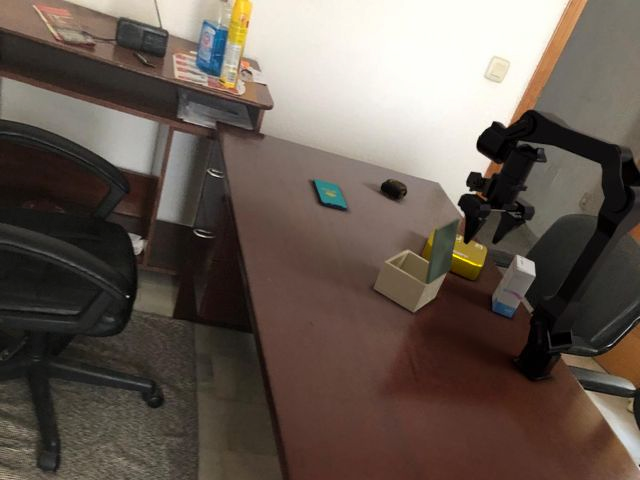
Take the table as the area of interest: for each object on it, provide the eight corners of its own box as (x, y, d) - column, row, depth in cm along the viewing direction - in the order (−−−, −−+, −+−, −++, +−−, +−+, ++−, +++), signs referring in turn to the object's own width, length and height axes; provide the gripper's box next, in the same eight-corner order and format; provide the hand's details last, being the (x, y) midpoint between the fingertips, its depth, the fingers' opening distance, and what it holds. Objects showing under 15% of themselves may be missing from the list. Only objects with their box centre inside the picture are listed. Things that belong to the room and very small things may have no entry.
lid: (434, 228, 131) (438, 229, 131) (456, 218, 140) (459, 218, 139) (425, 283, 137) (428, 284, 137) (446, 270, 146) (449, 270, 145)
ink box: (511, 319, 154) (537, 275, 147) (491, 311, 154) (516, 267, 147) (510, 303, 161) (535, 260, 154) (492, 295, 161) (515, 252, 153)
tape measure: (377, 192, 190) (381, 179, 188) (389, 189, 195) (393, 176, 193) (396, 203, 188) (401, 190, 186) (407, 199, 193) (412, 187, 190)
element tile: (419, 258, 164) (427, 241, 161) (429, 238, 176) (436, 222, 173) (474, 282, 163) (483, 266, 160) (481, 261, 175) (489, 245, 172)
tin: (373, 288, 144) (384, 261, 140) (396, 275, 153) (407, 249, 149) (413, 312, 142) (425, 285, 137) (434, 298, 150) (447, 272, 146)
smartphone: (338, 184, 182) (348, 207, 171) (337, 186, 183) (347, 210, 172) (313, 178, 180) (321, 202, 169) (312, 181, 180) (321, 205, 170)
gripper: (516, 160, 144) (484, 226, 154) (457, 153, 134) (427, 224, 143) (551, 184, 138) (516, 250, 148) (493, 179, 127) (458, 251, 137)
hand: (479, 243), depth 144 cm, fingers open, 9 cm apart
